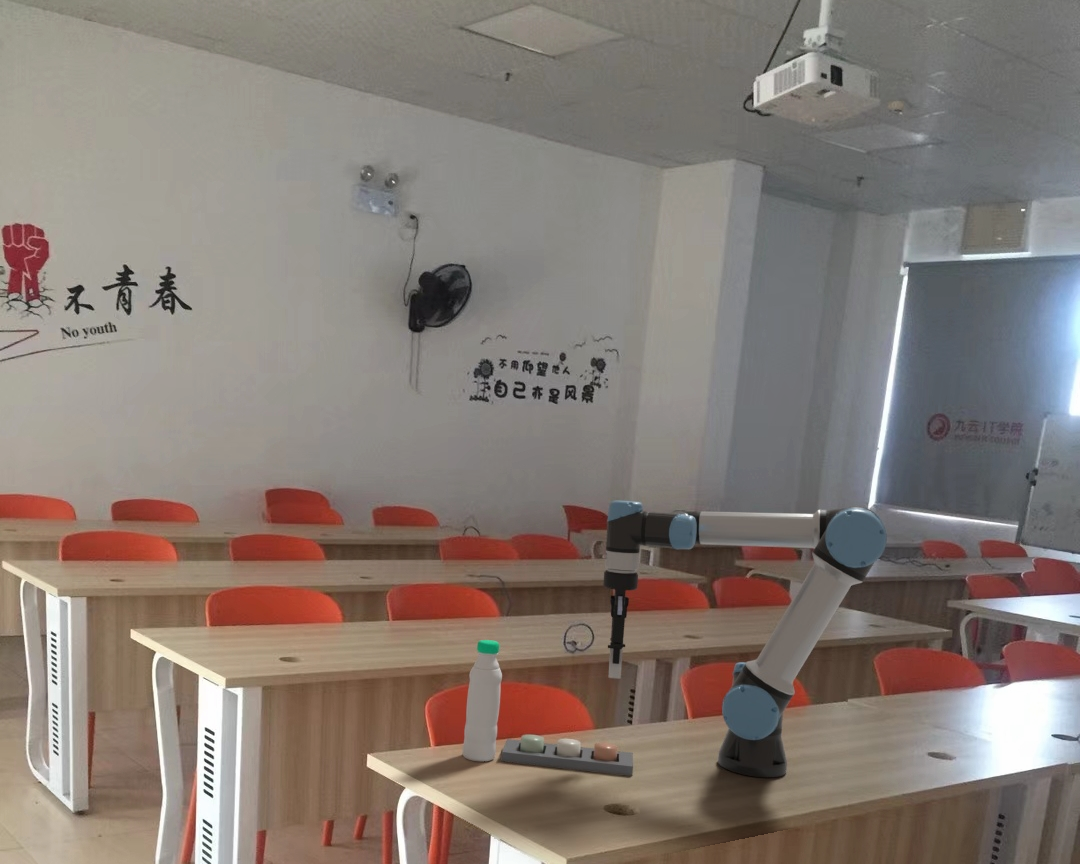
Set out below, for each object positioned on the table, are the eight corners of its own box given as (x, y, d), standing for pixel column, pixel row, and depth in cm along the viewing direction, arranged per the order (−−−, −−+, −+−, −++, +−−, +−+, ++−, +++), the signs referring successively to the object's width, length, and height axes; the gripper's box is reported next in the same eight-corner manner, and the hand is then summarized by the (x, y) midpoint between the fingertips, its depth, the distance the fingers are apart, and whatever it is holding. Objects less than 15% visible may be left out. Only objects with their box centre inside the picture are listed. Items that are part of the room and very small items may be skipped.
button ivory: (579, 758, 232) (581, 740, 232) (578, 765, 227) (580, 746, 227) (556, 755, 233) (558, 737, 233) (555, 762, 228) (557, 744, 228)
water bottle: (490, 764, 223) (501, 646, 223) (458, 759, 225) (468, 642, 225) (498, 755, 230) (508, 640, 230) (466, 750, 232) (476, 636, 232)
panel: (631, 761, 234) (632, 752, 234) (632, 775, 224) (633, 766, 224) (506, 747, 236) (507, 738, 236) (501, 761, 226) (501, 751, 226)
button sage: (543, 754, 233) (544, 736, 233) (541, 761, 228) (543, 742, 228) (520, 751, 233) (522, 733, 233) (518, 758, 228) (520, 739, 228)
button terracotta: (616, 762, 232) (617, 744, 232) (615, 769, 227) (617, 750, 227) (593, 759, 232) (594, 741, 232) (592, 766, 227) (594, 748, 227)
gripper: (604, 566, 241) (597, 669, 241) (604, 572, 228) (597, 682, 228) (637, 568, 240) (630, 672, 240) (639, 575, 227) (632, 685, 227)
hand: (614, 677), depth 234 cm, fingers closed
